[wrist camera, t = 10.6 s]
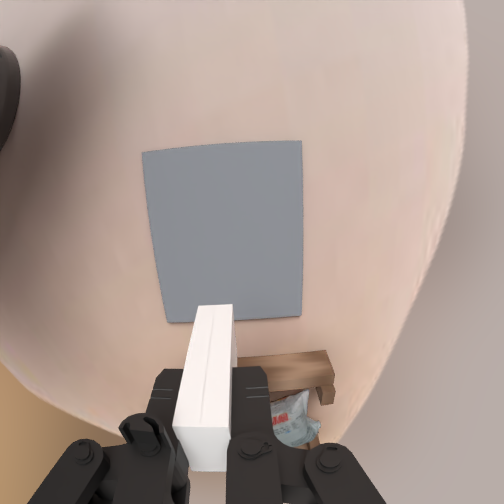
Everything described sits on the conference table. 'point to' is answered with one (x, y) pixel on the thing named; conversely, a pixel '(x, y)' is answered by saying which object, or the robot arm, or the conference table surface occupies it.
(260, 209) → the slate mat
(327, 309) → the conference table surface
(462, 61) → the conference table surface
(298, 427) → the packaged food
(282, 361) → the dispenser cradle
